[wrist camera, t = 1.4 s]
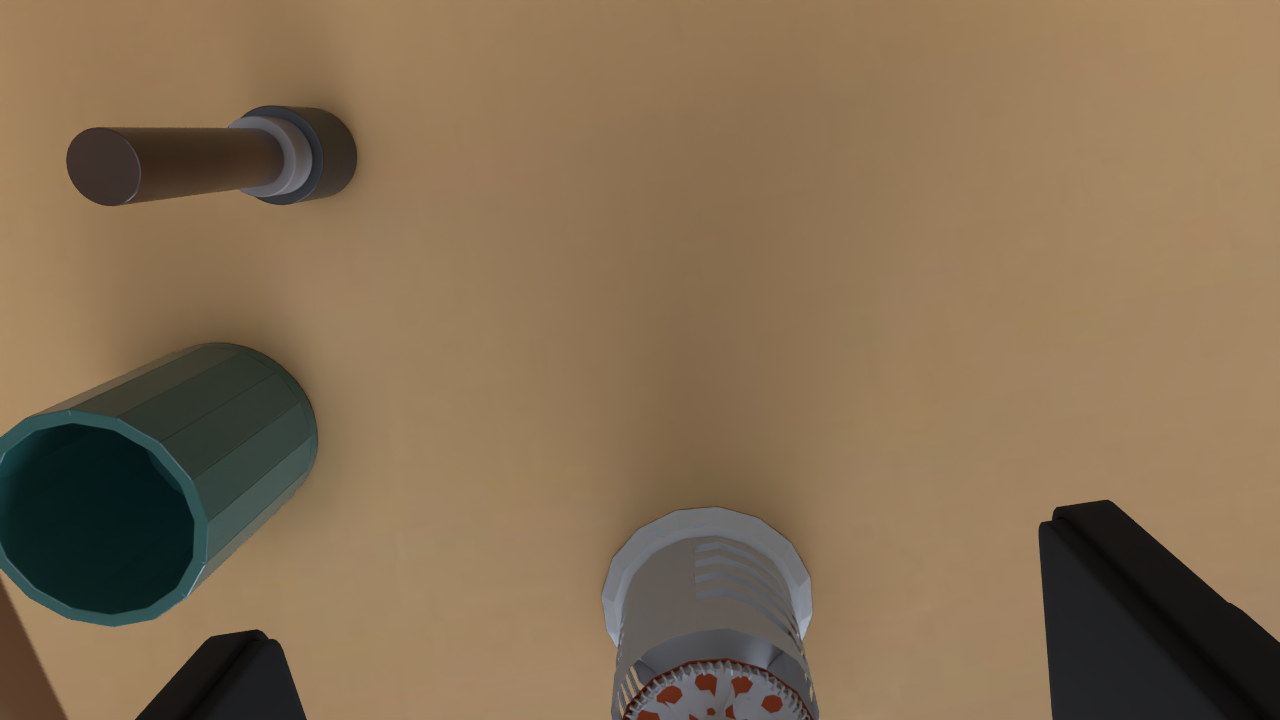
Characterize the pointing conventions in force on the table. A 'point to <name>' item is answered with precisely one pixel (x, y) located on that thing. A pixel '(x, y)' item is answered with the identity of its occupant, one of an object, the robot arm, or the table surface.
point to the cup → (150, 481)
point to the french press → (710, 620)
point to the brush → (217, 159)
